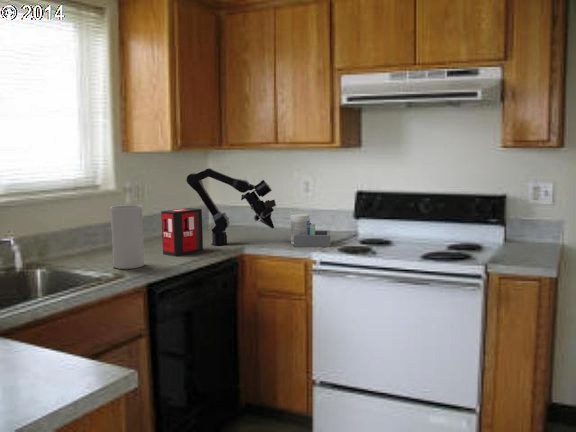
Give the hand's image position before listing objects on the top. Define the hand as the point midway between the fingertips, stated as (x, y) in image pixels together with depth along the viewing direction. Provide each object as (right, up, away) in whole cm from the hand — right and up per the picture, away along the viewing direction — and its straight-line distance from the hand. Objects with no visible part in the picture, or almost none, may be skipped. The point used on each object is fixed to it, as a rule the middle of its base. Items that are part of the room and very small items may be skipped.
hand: (273, 228), depth 301 cm
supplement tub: (+14, -8, 0) cm, 16 cm away
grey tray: (+19, -8, 0) cm, 20 cm away
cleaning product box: (-42, -11, -18) cm, 47 cm away
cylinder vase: (-59, -15, -48) cm, 77 cm away
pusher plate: (+20, -8, 0) cm, 22 cm away
